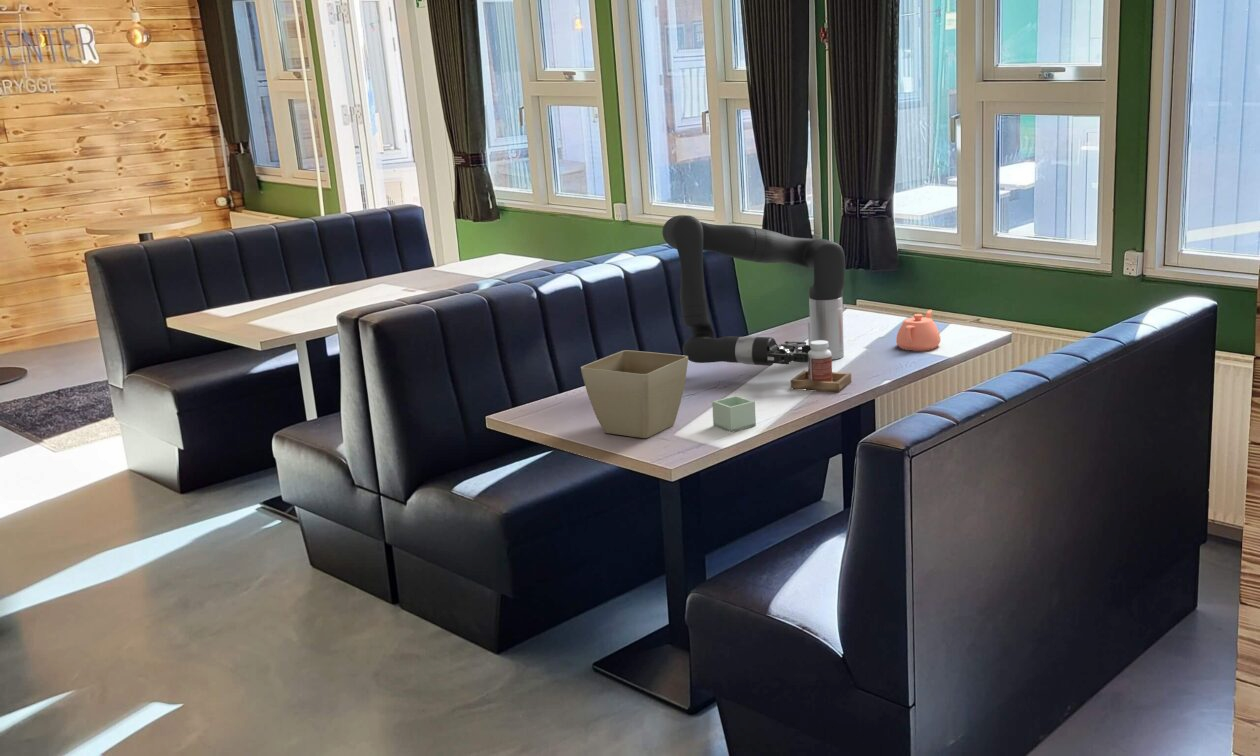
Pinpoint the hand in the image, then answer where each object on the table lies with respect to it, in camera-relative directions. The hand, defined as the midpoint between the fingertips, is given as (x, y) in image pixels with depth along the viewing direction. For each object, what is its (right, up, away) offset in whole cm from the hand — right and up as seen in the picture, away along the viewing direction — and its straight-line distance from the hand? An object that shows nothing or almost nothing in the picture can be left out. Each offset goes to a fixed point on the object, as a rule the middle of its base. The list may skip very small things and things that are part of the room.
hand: (813, 354), depth 319 cm
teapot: (+36, +3, +35) cm, 50 cm away
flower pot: (-45, -19, -24) cm, 55 cm away
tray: (+2, -8, +1) cm, 9 cm away
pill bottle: (+2, -8, +1) cm, 8 cm away
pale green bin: (-23, -18, -27) cm, 39 cm away
